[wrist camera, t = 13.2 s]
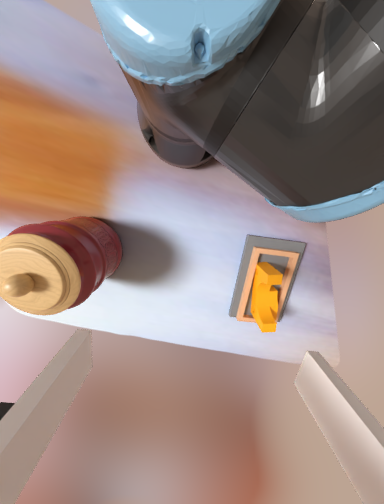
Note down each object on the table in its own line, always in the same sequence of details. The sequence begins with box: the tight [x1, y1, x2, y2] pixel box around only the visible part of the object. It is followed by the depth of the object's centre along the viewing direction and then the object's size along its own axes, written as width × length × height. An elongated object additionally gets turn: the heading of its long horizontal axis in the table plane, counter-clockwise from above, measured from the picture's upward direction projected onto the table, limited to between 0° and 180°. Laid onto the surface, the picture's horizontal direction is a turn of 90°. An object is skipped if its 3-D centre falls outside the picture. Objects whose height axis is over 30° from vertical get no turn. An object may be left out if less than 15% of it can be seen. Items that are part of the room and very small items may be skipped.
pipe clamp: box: [251, 262, 283, 332], centre depth 35 cm, size 12×4×6 cm, turn 2°
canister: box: [0, 217, 122, 315], centre depth 28 cm, size 13×13×18 cm
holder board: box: [229, 235, 306, 323], centre depth 38 cm, size 19×12×2 cm, turn 172°
